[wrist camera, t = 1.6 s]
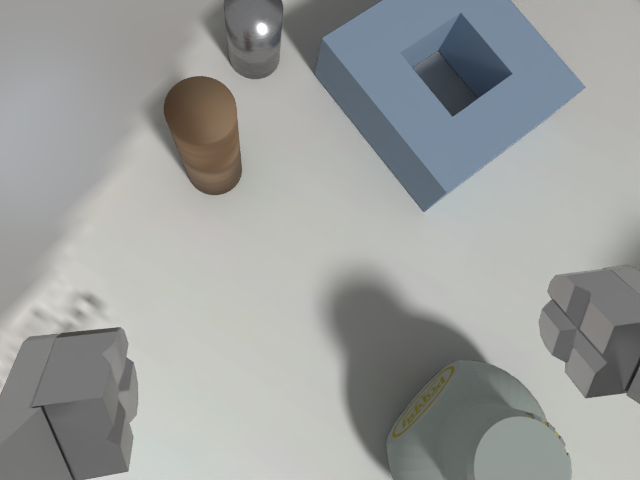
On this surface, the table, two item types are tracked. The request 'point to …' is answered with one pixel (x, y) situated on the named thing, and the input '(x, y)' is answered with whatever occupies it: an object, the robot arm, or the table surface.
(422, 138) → the collar block
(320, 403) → the table surface
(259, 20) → the short pin
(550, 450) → the air freshener
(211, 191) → the long pin
